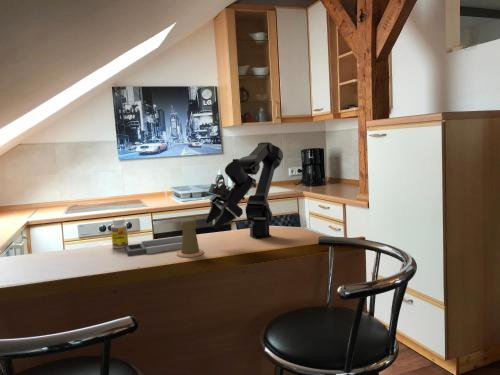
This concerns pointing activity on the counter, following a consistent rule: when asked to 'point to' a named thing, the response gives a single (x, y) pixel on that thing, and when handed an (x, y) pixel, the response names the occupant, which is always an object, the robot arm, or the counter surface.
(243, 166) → the robot arm
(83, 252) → the counter surface
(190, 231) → the cork
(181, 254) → the coaster
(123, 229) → the supplement bottle
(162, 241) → the guide channel
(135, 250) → the trap box
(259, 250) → the counter surface
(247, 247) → the counter surface
